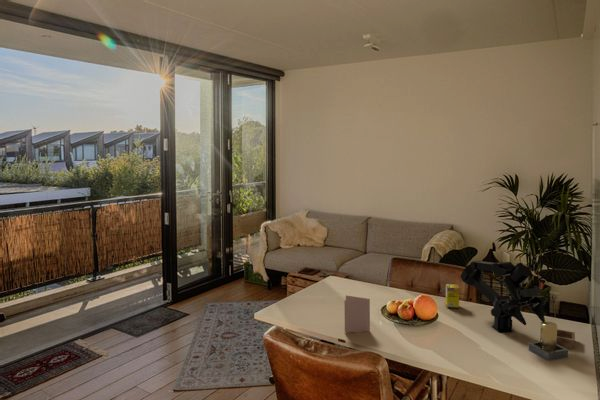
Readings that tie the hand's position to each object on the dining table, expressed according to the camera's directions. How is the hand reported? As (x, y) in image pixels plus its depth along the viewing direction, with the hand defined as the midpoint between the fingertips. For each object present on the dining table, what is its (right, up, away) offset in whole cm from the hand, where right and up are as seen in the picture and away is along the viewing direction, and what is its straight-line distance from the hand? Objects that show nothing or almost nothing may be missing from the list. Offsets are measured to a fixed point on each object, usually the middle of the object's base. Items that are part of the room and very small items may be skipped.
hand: (534, 323), depth 176 cm
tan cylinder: (+2, -9, -6) cm, 11 cm away
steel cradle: (+2, -10, -5) cm, 12 cm away
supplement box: (-17, -5, +47) cm, 50 cm away
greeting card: (-70, -9, +19) cm, 73 cm away
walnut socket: (+13, -9, +4) cm, 17 cm away
